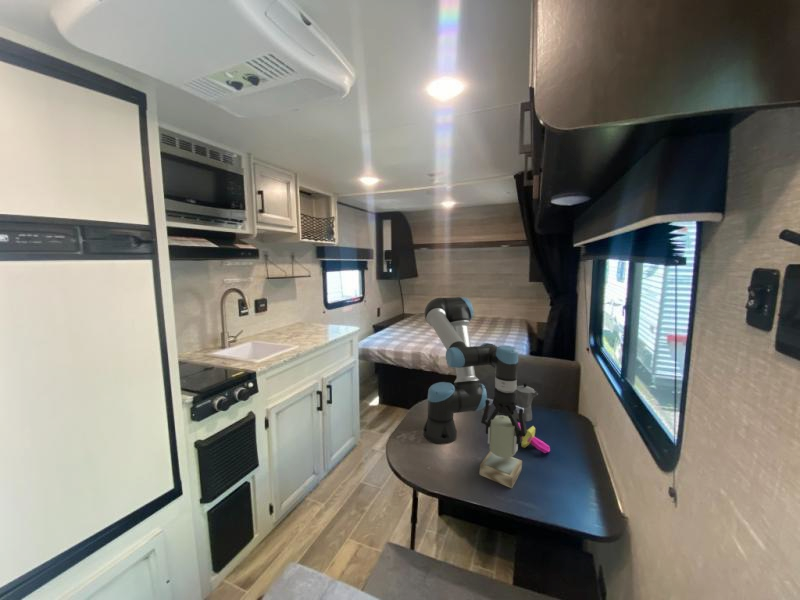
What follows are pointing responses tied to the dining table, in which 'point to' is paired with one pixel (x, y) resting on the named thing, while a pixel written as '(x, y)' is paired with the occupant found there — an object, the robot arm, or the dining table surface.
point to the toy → (533, 440)
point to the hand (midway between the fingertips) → (502, 446)
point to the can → (502, 436)
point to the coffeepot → (525, 400)
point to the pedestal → (501, 469)
